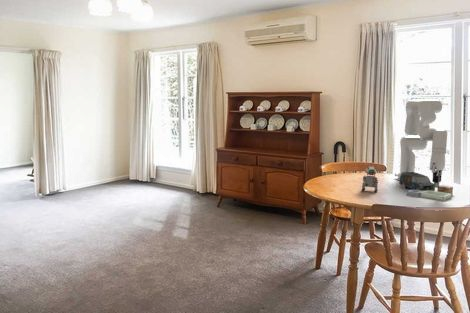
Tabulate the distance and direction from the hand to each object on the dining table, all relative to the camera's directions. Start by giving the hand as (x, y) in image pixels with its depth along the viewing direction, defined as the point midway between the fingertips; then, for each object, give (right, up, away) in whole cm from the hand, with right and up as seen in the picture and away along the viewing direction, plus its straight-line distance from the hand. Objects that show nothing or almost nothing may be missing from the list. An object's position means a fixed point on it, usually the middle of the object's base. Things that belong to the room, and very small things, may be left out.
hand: (436, 181), depth 245 cm
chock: (+10, -8, +10) cm, 16 cm away
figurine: (-33, -7, +18) cm, 39 cm away
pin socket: (-10, -9, +7) cm, 15 cm away
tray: (0, -9, +2) cm, 9 cm away
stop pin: (0, -3, 0) cm, 3 cm away
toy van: (-2, -7, +23) cm, 24 cm away
